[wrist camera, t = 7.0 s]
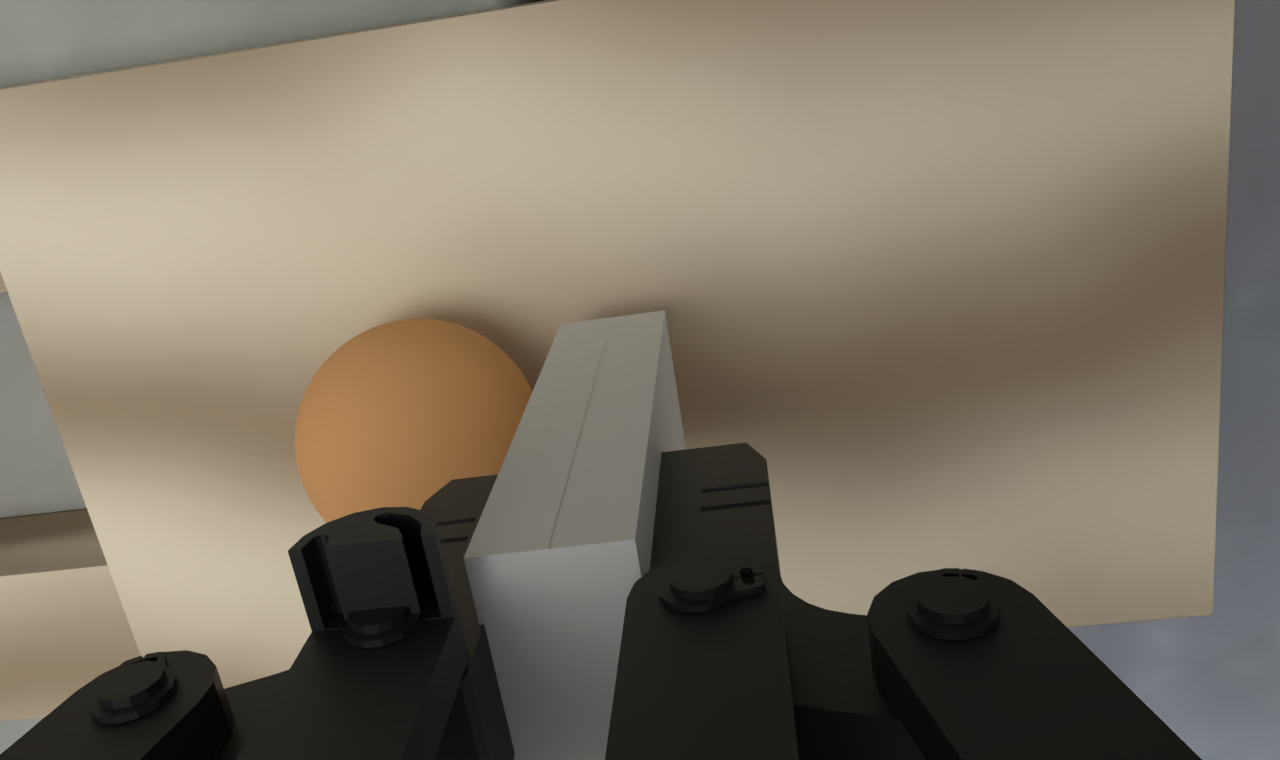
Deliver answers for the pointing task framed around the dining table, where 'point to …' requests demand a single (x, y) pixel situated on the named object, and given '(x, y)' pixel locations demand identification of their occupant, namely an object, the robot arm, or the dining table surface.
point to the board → (638, 288)
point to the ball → (405, 416)
